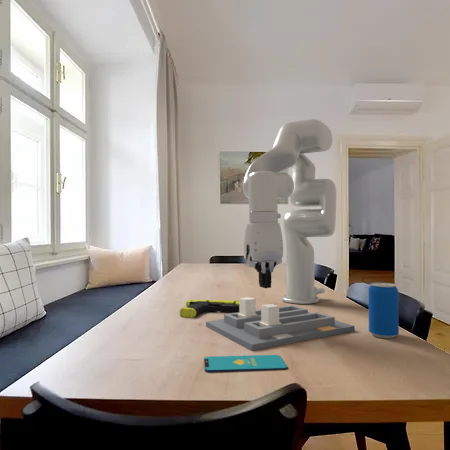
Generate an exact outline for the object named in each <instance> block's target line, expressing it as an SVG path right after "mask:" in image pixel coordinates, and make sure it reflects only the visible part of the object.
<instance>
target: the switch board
mask: <svg viewBox="0 0 450 450" xmlns="http://www.w3.org/2000/svg"><path fill="white" fill-rule="evenodd" d="M238 314H239V312H238V313H225V314H223V319H222V318H221V319H215V320H207V321H205V327H207V328H209V329H211V330H212V331H214V332H216V333H217V334H220V335H221V336H223V337H226V338H227V339H229V340H231V341H233V342H235V343H237V344H239V345H240V346H242V347H245V348H246V349H248V350H250V351H257V350H261V349H267V348H273V347H277V346H282V345H288V344H292V343H297V342H303V341H304V342H305V341H309V340H312V339H313V340H314V339H318V338H325V337H328V336H329V337H330V336H334V335H339V334H345V333H351V332H355V325H353V324H349V323H345V322H342V321H340V320H336V319H335V318H336V317H335V316H331V315H328V314H325V313H322V312H317V311H316V312H315V311H314V312H309V311H308V309H307V308H304V307H300V306H297V305H294V304H292V305H285V306H279V323H281V324H279V325H273V326H267V327H259V322H261V309H256V314H257V315H256V316H249V317H242V318H238Z"/></svg>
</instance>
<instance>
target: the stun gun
mask: <svg viewBox="0 0 450 450" xmlns="http://www.w3.org/2000/svg"><path fill="white" fill-rule="evenodd" d="M207 312H218V313H228V314H230V313H238V312H239V299H237V300H233V299H231V300H229V299H188V300H186V301H185V307H182V308H180V309H179V316H180V318H182V317H183V318H191V319H193V318H196V317H197V316H199V315H200V314H203V313H207Z"/></svg>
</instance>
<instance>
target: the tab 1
mask: <svg viewBox="0 0 450 450" xmlns="http://www.w3.org/2000/svg"><path fill="white" fill-rule="evenodd" d="M238 301H239V314H238V318H242V317H249V316H256V315H257V314H256V310H257V309H256V298H254V297H250V296H246V297H239V299H238Z"/></svg>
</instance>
